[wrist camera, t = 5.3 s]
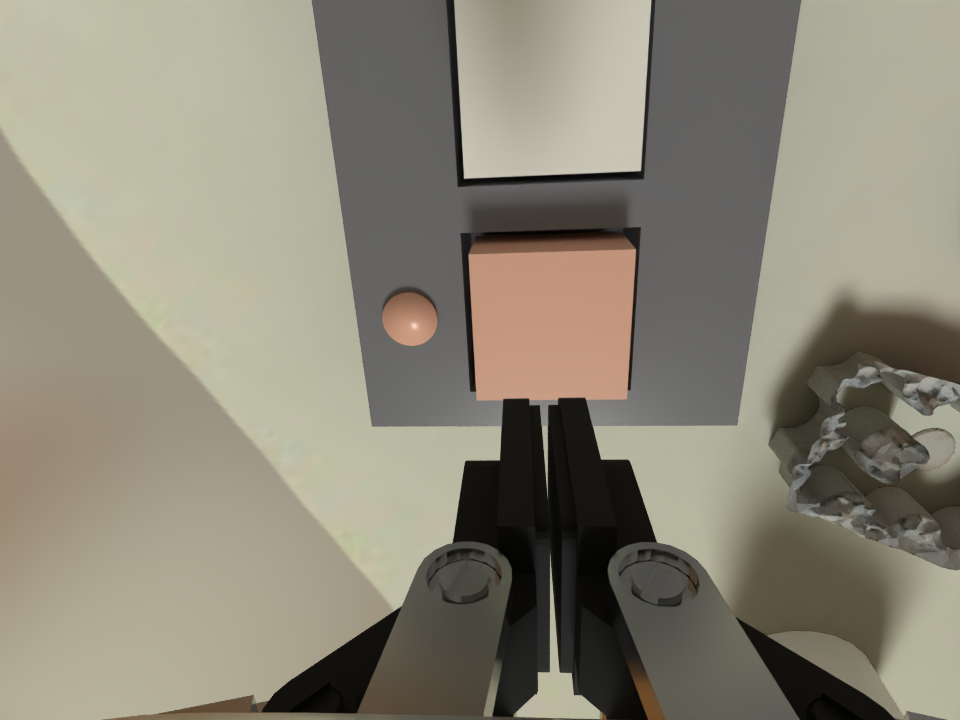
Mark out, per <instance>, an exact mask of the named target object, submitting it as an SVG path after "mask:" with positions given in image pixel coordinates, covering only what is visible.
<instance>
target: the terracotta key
mask: <svg viewBox="0 0 960 720" xmlns="http://www.w3.org/2000/svg"><path fill="white" fill-rule="evenodd" d="M468 255H469V272H470V290H471V308H472V326H473V343H474V361H475V379H476V397H477V401H485V400H503V399H515V398H529V400H558V398H583V397H585V398H586V400H623V399H627V389H628V373H629V356H630V340H631V324H632V307H633V291H634V275H635V258H636V249H635V247H634V246H633V245H632V244H631V243H630V241H629V240H628V239H627V238H626V236H625V235H624V234H623V233H622V232H621V231H613V232H583V233H553V234H523V235H493V236H476V238H475V240H474V243H473V245H472V247H471V250H470V252H469V254H468Z"/></svg>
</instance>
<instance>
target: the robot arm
mask: <svg viewBox="0 0 960 720" xmlns="http://www.w3.org/2000/svg"><path fill="white" fill-rule="evenodd" d="M550 555H551V568H552V581H553V594H554V606H555V619H556V632H557V645H558V658H559V669H560V673H572V679H573V689H574V695H582V696H583V697H585V698H586V699H587V700H588V701H589V702H590V703H592V704H593V705H594V706H595V707H596V708H597V709H599V710H600V719H565V718H526V717H516V712H517V711H518V710H519V709H520V708H521V707H522V706H523V705H524V704H525V703H526V702H527V701H528V700H529V699H530V698H532V697H533V696H534V695H535V694H537V692H538V672H550ZM104 720H901V719H897V718H894V717H893V716H892V715H891V714H890V713H889V712H888V711H887V710H886V709H885V708H883V707H882V706H881V705H879V704H878V703H877V702H875V701H874V700H872V699H871V698H870V697H868V696H867V695H865V694H864V693H862V692H860V691H859V690H857V689H855V688H854V687H852V686H850V685H849V684H847V683H845V682H844V681H842V680H840V679H839V678H837V677H835V676H834V675H832V674H830V673H828V672H827V671H825V670H823V669H822V668H820V667H818V666H817V665H815V664H813V663H812V662H810V661H808V660H807V659H805V658H803V657H802V656H800V655H798V654H797V653H795V652H793V651H792V650H790V649H788V648H786V647H785V646H783V645H781V644H780V643H778V642H776V641H775V640H773V639H771V638H770V637H768V636H766V635H765V634H763V633H761V632H760V631H758V630H756V629H755V628H753V627H751V626H750V625H748V624H746V623H744V622H743V621H741V620H739V619H738V618H736V617H735V616H734V614H733V613H732V611H731V610H730V608H729V606H728V605H727V603H726V602H725V600H724V598H723V597H722V595H721V594H720V592H719V590H718V589H717V587H716V586H715V584H714V582H713V581H712V579H711V578H710V576H709V575H708V573H707V571H706V570H705V569H704V568H703V567H702V565H701V564H700V563H699V562H698V561H697V560H696V559H695V558H693V557H692V556H690V555H689V554H687V553H686V552H684V551H682V550H680V549H677V548H675V547H673V546H670V545H666V544H661V543H657V541H656V538H655V535H654V532H653V529H652V526H651V523H650V520H649V517H648V514H647V511H646V508H645V505H644V502H643V499H642V496H641V493H640V490H639V487H638V484H637V481H636V478H635V475H634V472H633V469H632V466H631V463H630V461H629V460H601V458H600V454H599V450H598V446H597V442H596V438H595V434H594V430H593V426H592V421H591V417H590V413H589V409H588V405H587V401H586V398H585V397H583V398H558V405H548V498H547V485H546V473H545V461H544V449H543V437H542V424H541V412H540V405H530V403H529V398H515V399H503V411H502V432H501V453H500V460H499V461H466V462H465V466H464V472H463V479H462V485H461V492H460V499H459V505H458V512H457V519H456V525H455V532H454V539H453V543H452V544H447V545H445V546H443V547H441V548H439V549H436V550H434V551H433V552H432V553H431V554H430V555H428V556H427V557H426V558H425V559H424V560H423V562H422V563H421V565H420V566H419V568H418V570H417V572H416V574H415V577H414V579H413V582H412V584H411V586H410V589H409V591H408V593H407V596H406V598H405V600H404V603H403V605H402V606H401V607H400V608H398V609H397V610H395V611H394V612H392V613H391V614H389V615H388V616H386V617H385V618H383V619H382V620H380V621H379V622H377V623H376V624H375V625H373V626H371V627H370V628H368V629H367V630H365V631H364V632H362V633H361V634H359V635H358V636H357V637H355V638H354V639H352V640H350V641H349V642H347V643H346V644H344V645H343V646H341V647H340V648H338V649H337V650H335V651H334V652H332V653H331V654H329V655H328V656H326V657H325V658H323V659H322V660H320V661H319V662H317V663H316V664H314V665H313V666H311V667H310V668H308V669H307V670H305V671H304V672H302V673H301V674H299V675H298V676H297V677H295V678H293V679H292V680H290V681H289V682H288V683H287V684H286V685H284V686H283V687H282V688H281V689H279V690H278V691H277V692H276V693H275V694H274V695H273V696H272V697H271V699H270V700H269V701H266V702H261V703H256V701H255V698H254V695H251V696H247V697H241V698H236V699H231V700H226V701H221V702H216V703H210V704H205V705H200V706H195V707H190V708H185V709H180V710H174V711H169V712H164V713H159V714H152V715H139V716H130V717H122V718H113V719H104ZM903 720H945V719H941V718H936V717H932V716H927V715H922V714H918V713H913V712H909V711H906V714H905V716H904V719H903Z"/></svg>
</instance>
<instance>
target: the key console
mask: <svg viewBox="0 0 960 720" xmlns="http://www.w3.org/2000/svg"><path fill="white" fill-rule="evenodd" d="M800 4H801V0H651V13H650V30H649V46H648V62H647V79H646V95H645V111H644V128H643V144H642V160H641V171H629V172H606V173H582V174H559V175H536V176H512V177H489V178H466V179H464V166H463V148H462V130H461V113H460V95H459V77H458V59H457V42H456V24H455V6H454V0H312V5H313V12H314V19H315V26H316V33H317V40H318V47H319V54H320V61H321V68H322V75H323V82H324V90H325V97H326V104H327V111H328V118H329V125H330V132H331V139H332V146H333V153H334V160H335V167H336V175H337V182H338V189H339V196H340V203H341V210H342V217H343V224H344V231H345V238H346V245H347V252H348V260H349V267H350V274H351V281H352V288H353V295H354V302H355V309H356V316H357V323H358V330H359V337H360V345H361V352H362V359H363V366H364V373H365V380H366V387H367V394H368V401H369V408H370V415H371V422H372V426H502V411H503V400H485V401H477V397H476V379H475V361H474V343H473V326H472V308H471V290H470V272H469V255H468V254H469V252H470V250H471V247H472V245H473V243H474V240H475V238H476V236H493V235H523V234H553V233H583V232H613V231H621V232H622V233H623V234H624V235H625V236H626V238H627V239H628V240H629V241H630V243H631V244H632V245H633V246H634V247H635V249H636V258H635V275H634V291H633V307H632V324H631V340H630V356H629V373H628V389H627V399H623V400H586V401H587V405H588V409H589V413H590V417H591V421H592V426H685V425H737V423H738V416H739V409H740V403H741V396H742V389H743V383H744V376H745V369H746V363H747V356H748V349H749V343H750V336H751V330H752V323H753V316H754V310H755V303H756V296H757V290H758V283H759V276H760V270H761V263H762V256H763V250H764V243H765V237H766V230H767V223H768V217H769V210H770V203H771V197H772V190H773V183H774V177H775V170H776V163H777V157H778V150H779V144H780V137H781V130H782V124H783V117H784V110H785V104H786V97H787V90H788V84H789V77H790V71H791V64H792V57H793V51H794V44H795V37H796V31H797V24H798V17H799V11H800ZM529 403H530V405H540V412H541V424H542V426H548V405H558V400H529Z"/></svg>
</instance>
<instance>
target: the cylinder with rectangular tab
mask: <svg viewBox="0 0 960 720" xmlns="http://www.w3.org/2000/svg"><path fill="white" fill-rule="evenodd" d="M767 636H768V637H770V638H771V639H773V640H775V641H776V642H778V643H780V644H781V645H783V646H785V647H786V648H788V649H790V650H792V651H793V652H795V653H797V654H798V655H800V656H802V657H803V658H805V659H807V660H808V661H810V662H812V663H813V664H815V665H817V666H818V667H820V668H822V669H823V670H825V671H827V672H828V673H830V674H832V675H834V676H835V677H837V678H839V679H840V680H842V681H844V682H845V683H847V684H849V685H850V686H852V687H854V688H855V689H857V690H859V691H860V692H862V693H864V694H865V695H867V696H868V697H870V698H871V699H872V700H874V701H875V702H877V703H878V704H879V705H881V706H882V707H883V708H885V709H886V710H887V711H888V712H889V713H890V714H891V715H892V716H893V717H894V718H897V719H901V720H903V719H904V716H903V714H902V712H901V711H900V709H899V708H898V706H897V705H896V703H895V701H894V700H893V698H892V697H891V695H890V693H889V692H888V690H887V689H886V687H885V685H884V684H883V682H882V681H881V679H880V677H879V676H878V674H877V673H876V671H875V670H874V668H873V666H872V665H871V663H870V662H869V660H868V658H867V657H866V655H865V654H864V653H863V652H861V651H860V650H859V649H858V648H857V647H855V646H854V645H853V644H852V643H849V642H847V641H845V640H843V639H841V638H838V637H836V636H833V635H829V634H824V633H819V632H814V631H789V632H783V633H777V634H771V635H767Z"/></svg>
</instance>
